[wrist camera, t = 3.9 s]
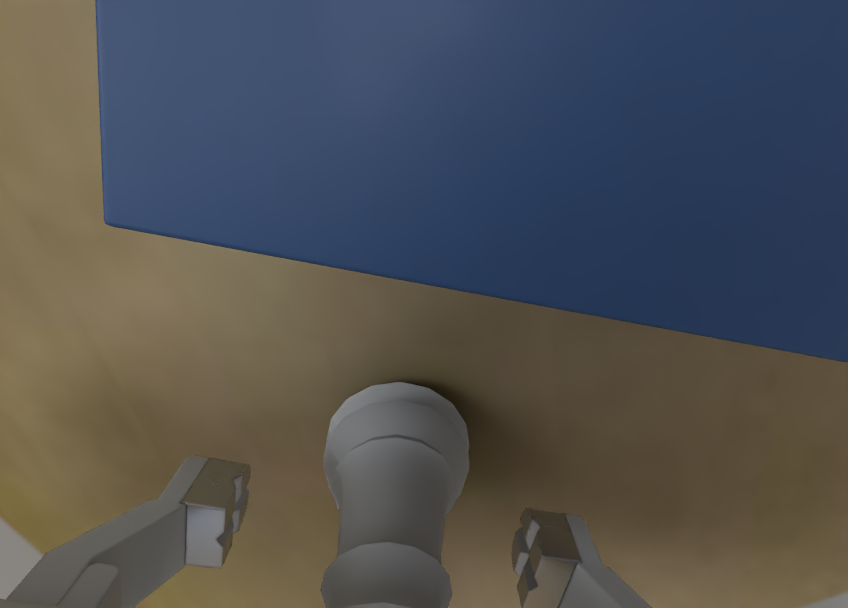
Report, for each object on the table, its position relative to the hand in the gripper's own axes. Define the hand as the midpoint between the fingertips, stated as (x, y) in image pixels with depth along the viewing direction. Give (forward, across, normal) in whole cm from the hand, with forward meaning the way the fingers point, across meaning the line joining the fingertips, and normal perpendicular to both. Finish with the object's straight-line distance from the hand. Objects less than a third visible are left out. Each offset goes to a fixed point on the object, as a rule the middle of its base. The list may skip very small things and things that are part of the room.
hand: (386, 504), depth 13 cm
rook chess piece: (+3, 0, 0) cm, 3 cm away
